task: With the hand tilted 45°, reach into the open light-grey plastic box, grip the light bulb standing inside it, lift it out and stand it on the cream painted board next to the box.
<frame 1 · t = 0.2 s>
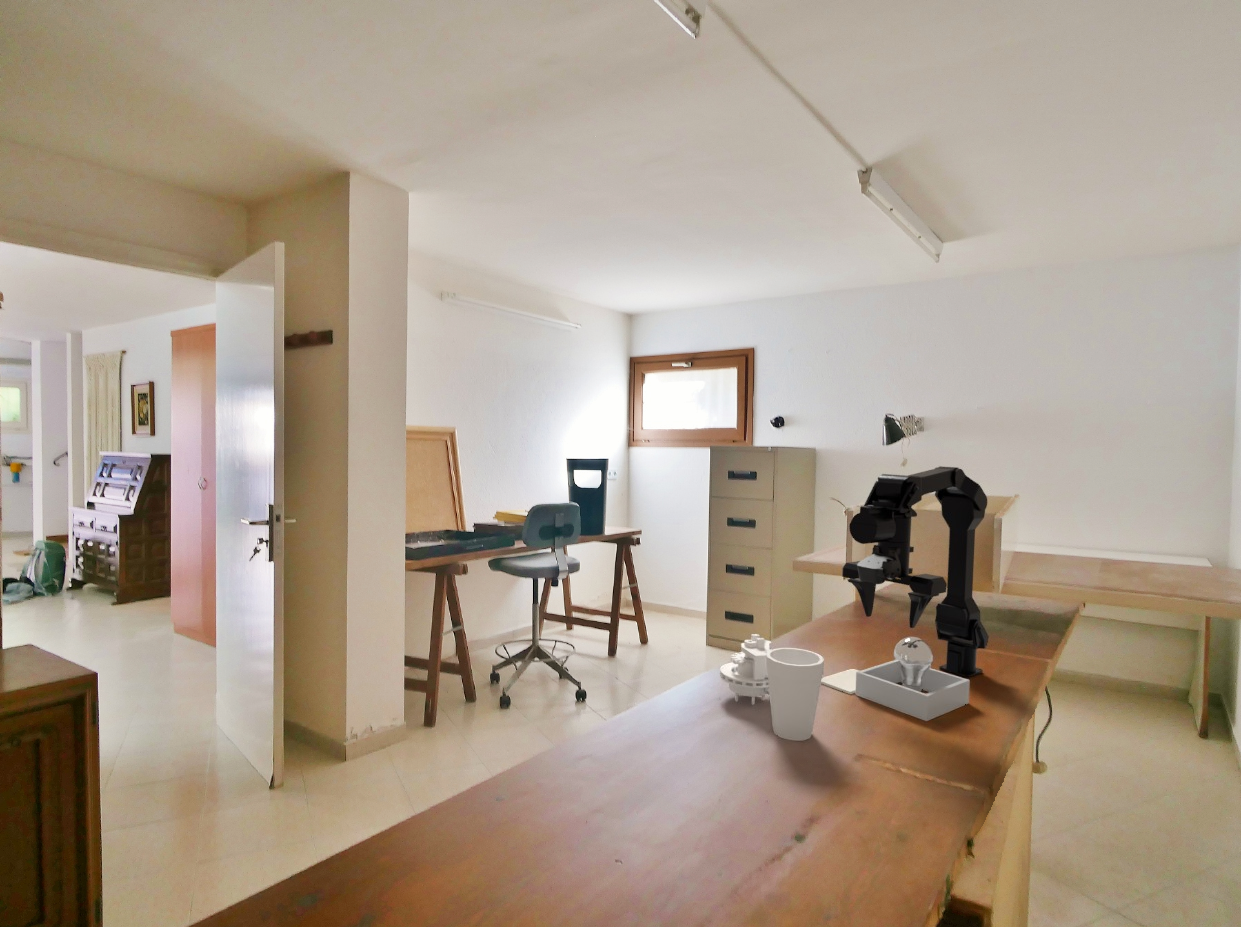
hand: (889, 622, 133), 15 cm above the table, tool pointing down, fingers open, 9 cm apart
cream board: (851, 682, 142), on the table
grey box: (911, 699, 134), on the table
mechanical part: (751, 700, 132), on the table
light bulb: (911, 700, 134), resting in grey box
foam cup: (792, 733, 118), on the table
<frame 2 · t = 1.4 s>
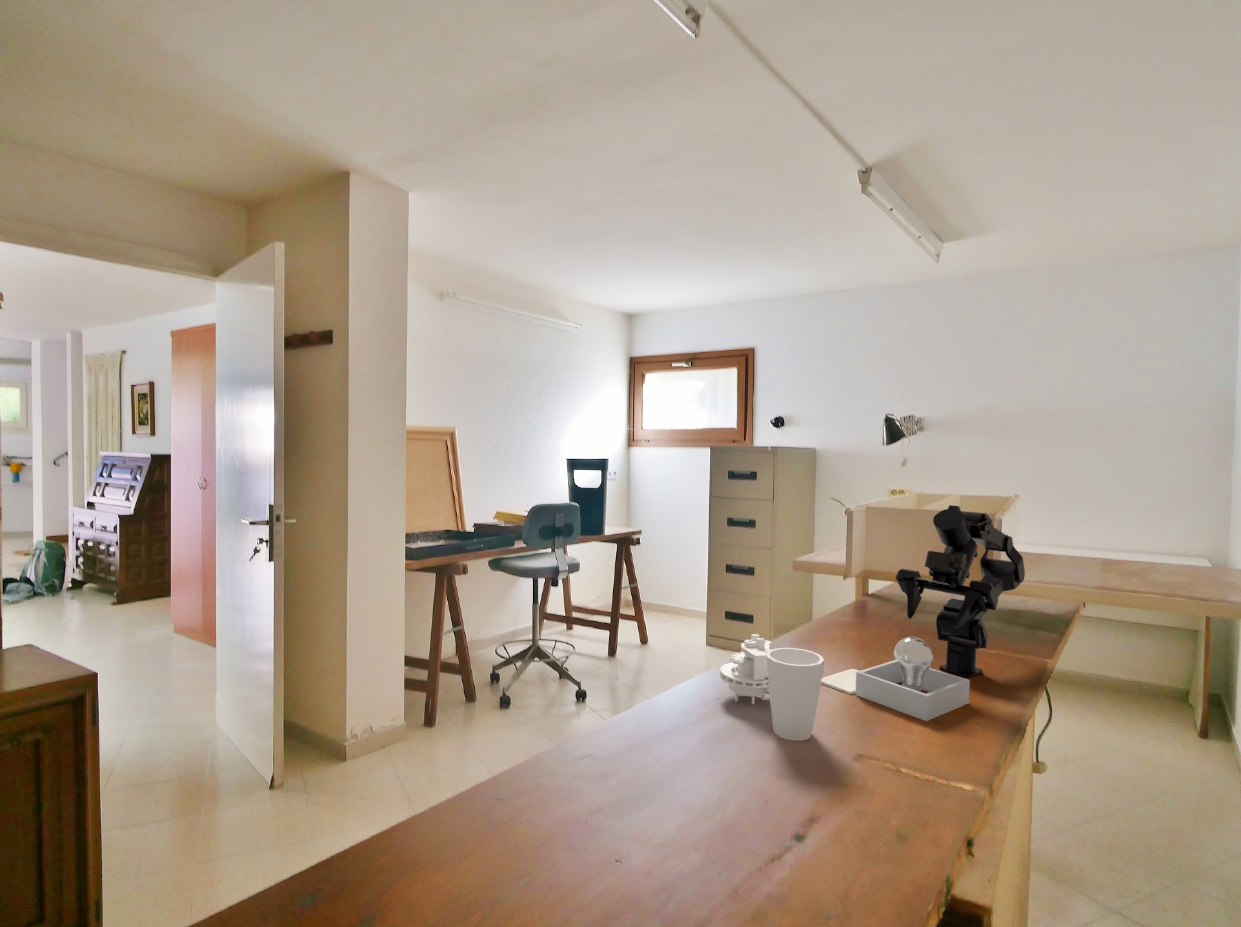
hand: (931, 622, 138), 13 cm above the table, tool tilted 45°, fingers open, 9 cm apart
nothing on the table moved.
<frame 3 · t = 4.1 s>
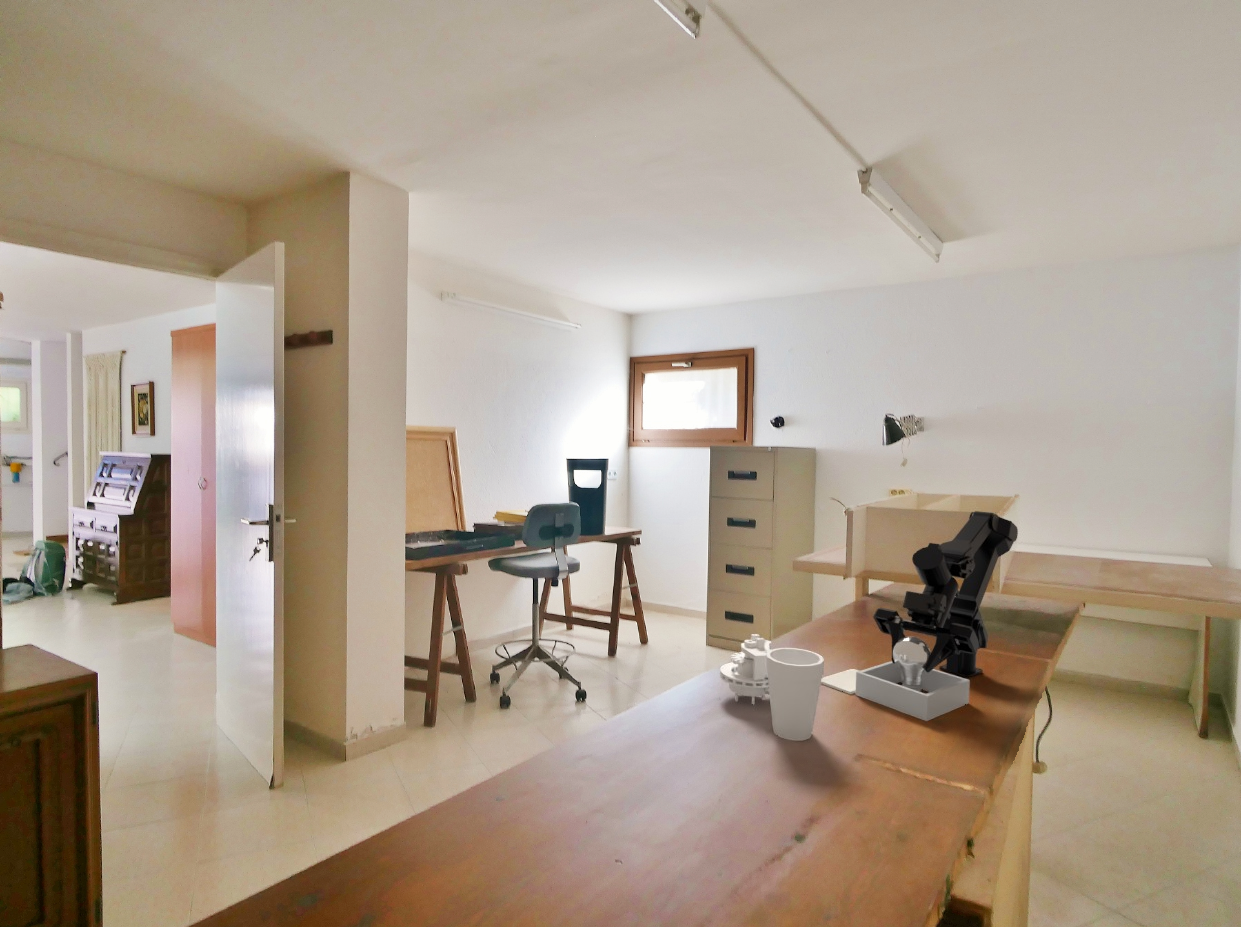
hand: (909, 666, 132), 7 cm above the table, tool tilted 45°, fingers closed on light bulb, 6 cm apart
light bulb: (911, 700, 134), resting in grey box, touching gripper
everything else where it was.
when the fingers open (8 cm above the table, at t = 8.8 s): light bulb stays where it is, resting on cream board.
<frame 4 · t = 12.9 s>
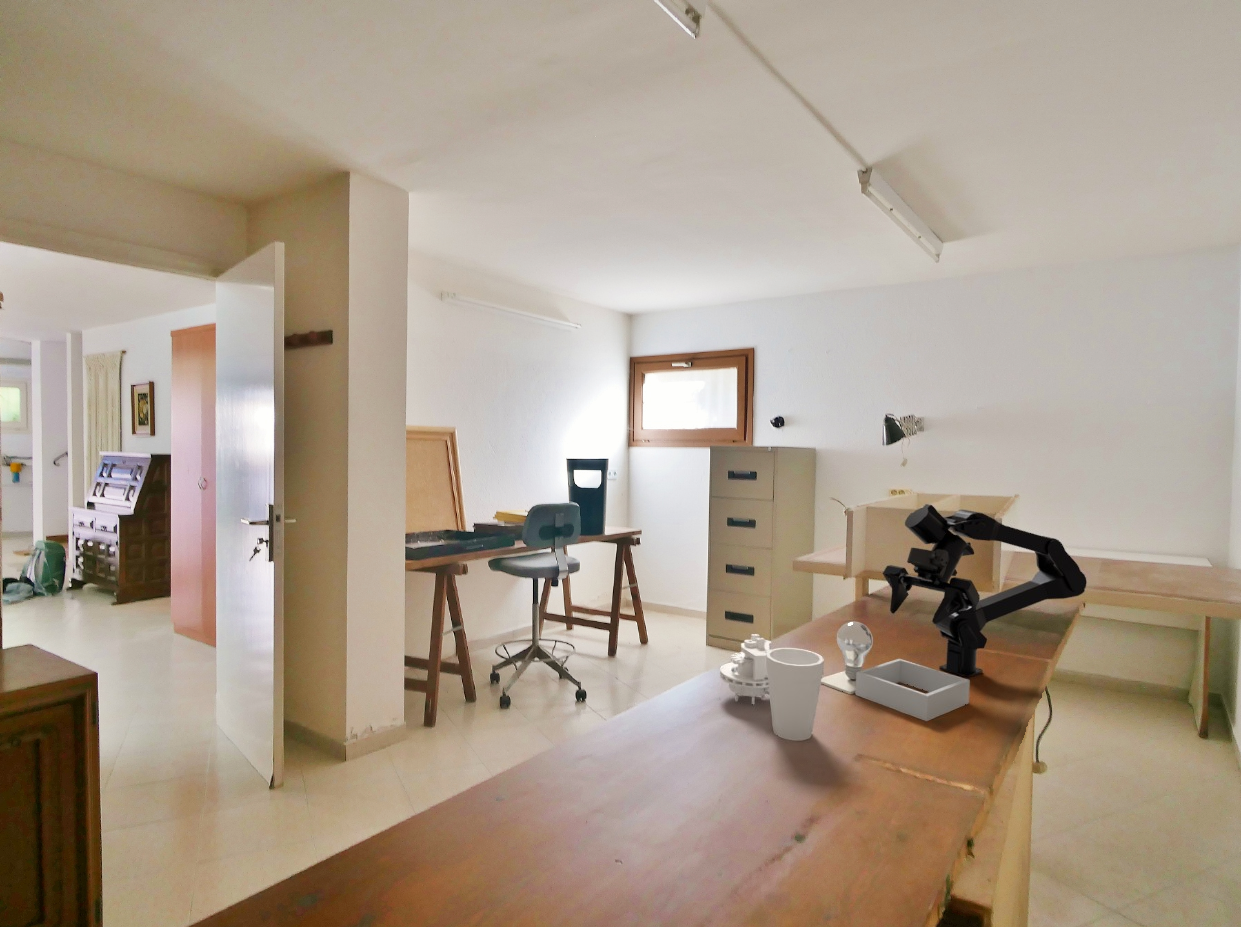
hand: (912, 617, 141), 14 cm above the table, tool tilted 45°, fingers open, 9 cm apart
light bulb: (853, 681, 142), resting on cream board
everything else where it was.
at the end: light bulb inside the target area on the cream board (0.3 cm from its centre), point 0.3 cm above the cream board's base; light bulb tilted 0°; the gripper is holding nothing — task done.
